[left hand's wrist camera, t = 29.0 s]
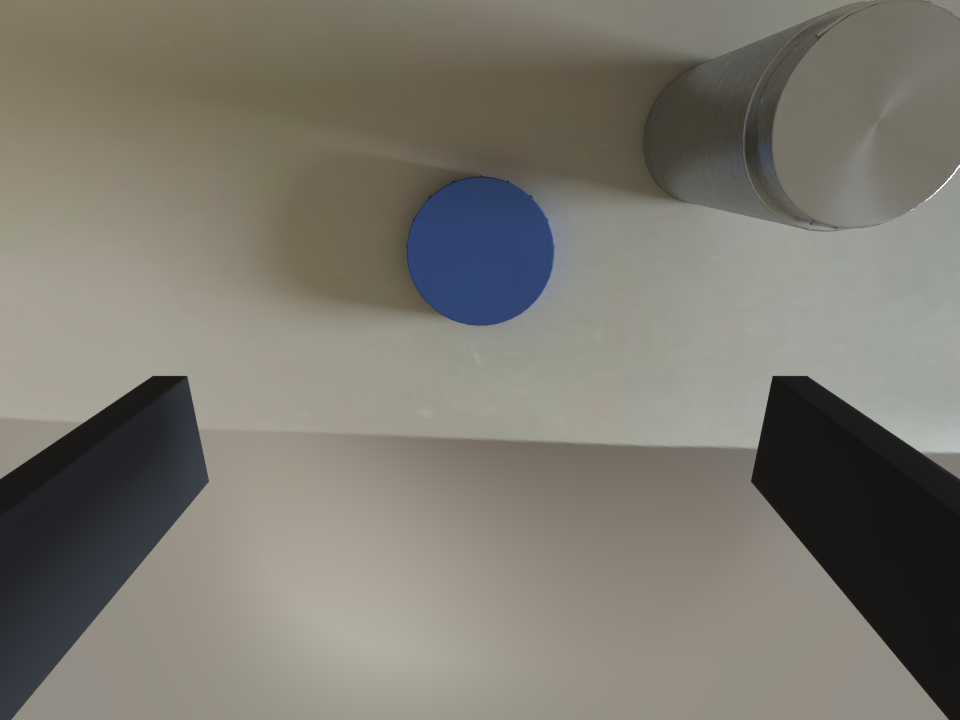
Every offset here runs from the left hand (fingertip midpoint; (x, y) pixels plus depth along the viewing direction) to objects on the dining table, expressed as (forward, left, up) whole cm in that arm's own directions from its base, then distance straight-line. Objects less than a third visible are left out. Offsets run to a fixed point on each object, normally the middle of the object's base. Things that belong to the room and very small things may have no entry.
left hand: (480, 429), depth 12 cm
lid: (0, 0, -25) cm, 25 cm away
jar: (+15, +6, -27) cm, 31 cm away
